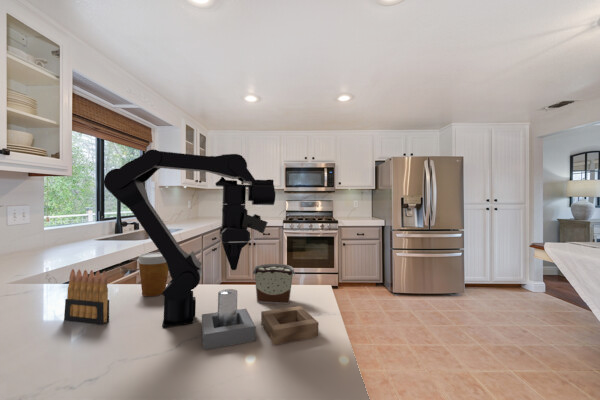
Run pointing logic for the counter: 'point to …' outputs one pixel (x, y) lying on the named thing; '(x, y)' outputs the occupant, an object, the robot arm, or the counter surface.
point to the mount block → (288, 325)
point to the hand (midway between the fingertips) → (232, 265)
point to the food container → (273, 283)
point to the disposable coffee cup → (153, 273)
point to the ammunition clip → (87, 298)
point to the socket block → (227, 330)
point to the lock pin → (227, 307)
